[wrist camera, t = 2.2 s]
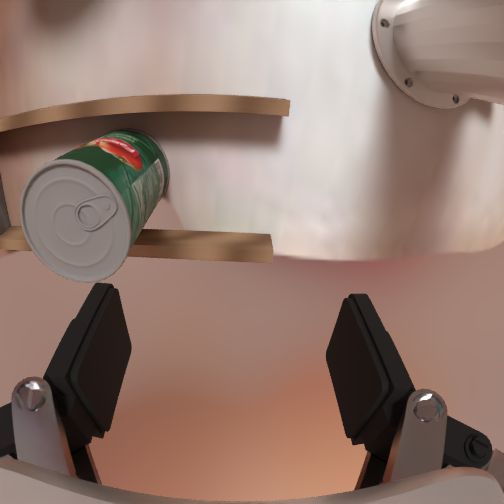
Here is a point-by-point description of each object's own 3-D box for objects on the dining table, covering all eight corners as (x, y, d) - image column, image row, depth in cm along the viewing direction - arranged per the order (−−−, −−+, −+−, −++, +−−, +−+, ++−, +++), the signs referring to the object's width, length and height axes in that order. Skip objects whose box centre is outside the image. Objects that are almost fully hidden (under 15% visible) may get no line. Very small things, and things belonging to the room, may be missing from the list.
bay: (284, 99, 22) (298, 102, 17) (268, 245, 29) (275, 283, 24) (-13, 121, 20) (-51, 135, 15) (6, 235, 27) (-23, 263, 22)
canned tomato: (113, 225, 27) (62, 296, 18) (74, 154, 23) (0, 199, 14) (185, 193, 26) (155, 260, 17) (146, 112, 22) (87, 133, 13)
